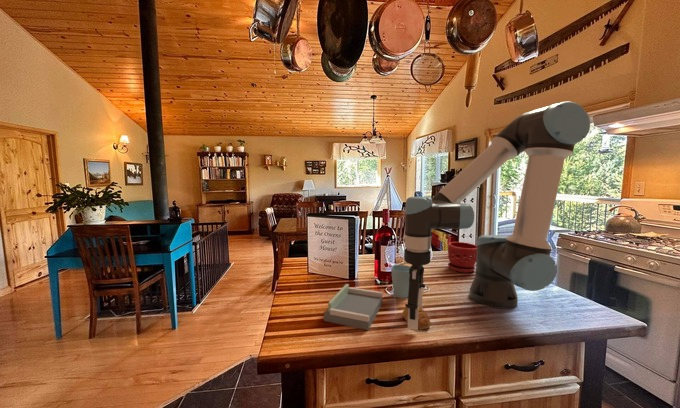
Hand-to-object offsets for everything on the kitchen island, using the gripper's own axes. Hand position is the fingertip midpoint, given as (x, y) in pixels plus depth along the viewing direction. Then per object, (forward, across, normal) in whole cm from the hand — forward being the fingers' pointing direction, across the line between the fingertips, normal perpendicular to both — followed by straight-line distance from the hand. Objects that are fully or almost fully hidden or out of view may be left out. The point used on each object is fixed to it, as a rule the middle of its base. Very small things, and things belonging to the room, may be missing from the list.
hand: (415, 317), depth 85 cm
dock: (+1, +1, -19) cm, 19 cm away
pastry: (+2, -1, 0) cm, 2 cm away
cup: (+1, -17, -7) cm, 18 cm away
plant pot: (+1, -56, +15) cm, 58 cm away
